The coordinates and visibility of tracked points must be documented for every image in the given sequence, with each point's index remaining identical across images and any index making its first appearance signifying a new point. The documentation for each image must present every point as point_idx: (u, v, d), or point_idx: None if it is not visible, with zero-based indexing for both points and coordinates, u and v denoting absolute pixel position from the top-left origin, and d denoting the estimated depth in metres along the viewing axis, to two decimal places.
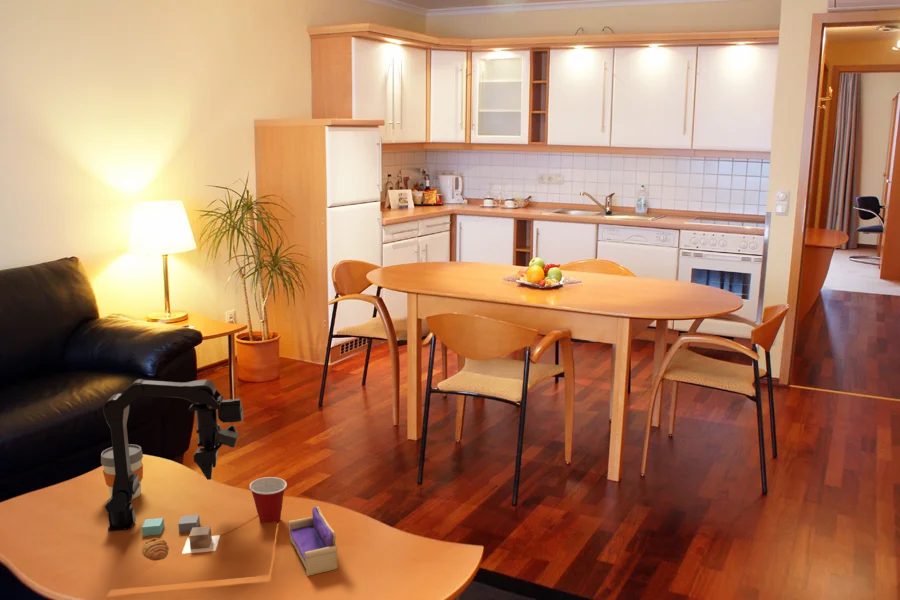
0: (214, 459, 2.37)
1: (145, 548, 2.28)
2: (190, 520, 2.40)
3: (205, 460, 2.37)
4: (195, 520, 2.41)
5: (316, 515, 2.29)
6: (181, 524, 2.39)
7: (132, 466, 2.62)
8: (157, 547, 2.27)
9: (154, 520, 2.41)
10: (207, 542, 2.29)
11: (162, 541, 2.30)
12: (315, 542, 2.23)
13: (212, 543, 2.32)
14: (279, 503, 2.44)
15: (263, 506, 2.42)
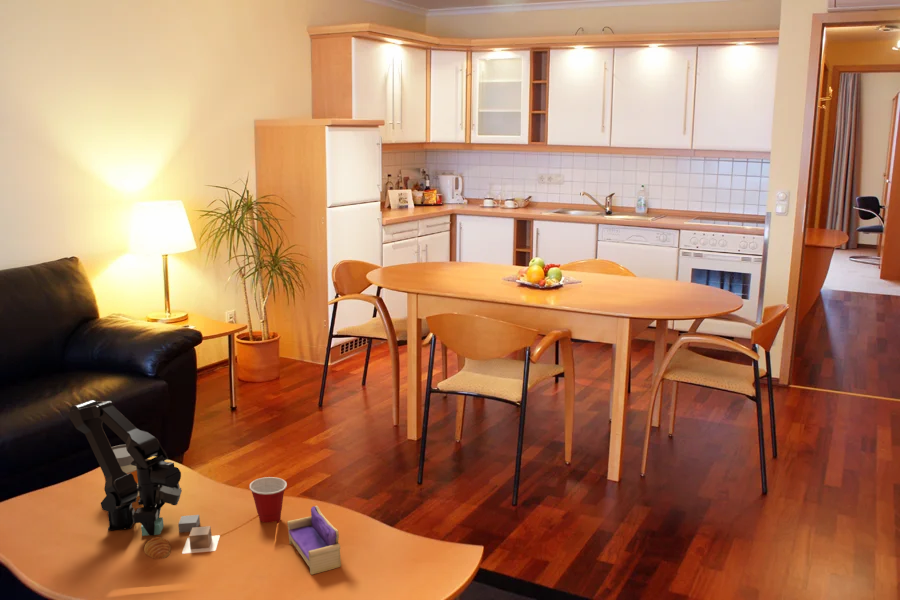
0: (154, 519, 2.31)
1: (147, 547, 2.28)
2: (190, 520, 2.40)
3: (144, 520, 2.30)
4: (195, 520, 2.41)
5: (315, 514, 2.30)
6: (181, 524, 2.39)
7: (132, 466, 2.62)
8: (160, 546, 2.27)
9: None
10: (207, 542, 2.29)
11: (164, 540, 2.31)
12: (316, 541, 2.23)
13: (212, 543, 2.32)
14: (279, 503, 2.44)
15: (263, 506, 2.42)
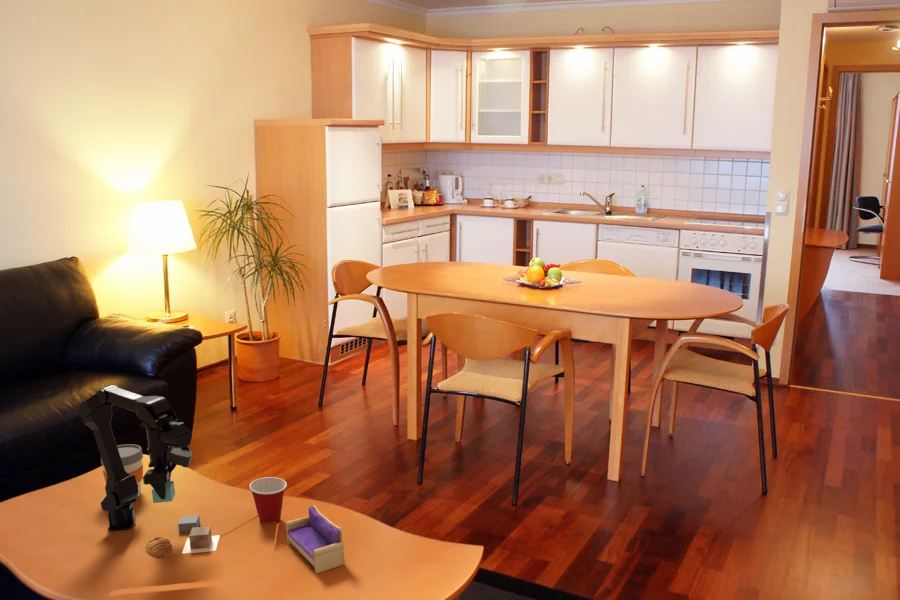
0: (165, 480, 2.25)
1: (149, 547, 2.28)
2: (190, 520, 2.40)
3: (155, 482, 2.25)
4: (195, 520, 2.41)
5: (314, 514, 2.30)
6: (181, 524, 2.39)
7: (132, 466, 2.62)
8: (161, 546, 2.28)
9: None
10: (207, 542, 2.29)
11: (165, 540, 2.31)
12: (318, 540, 2.24)
13: (212, 543, 2.32)
14: (279, 503, 2.44)
15: (263, 506, 2.42)
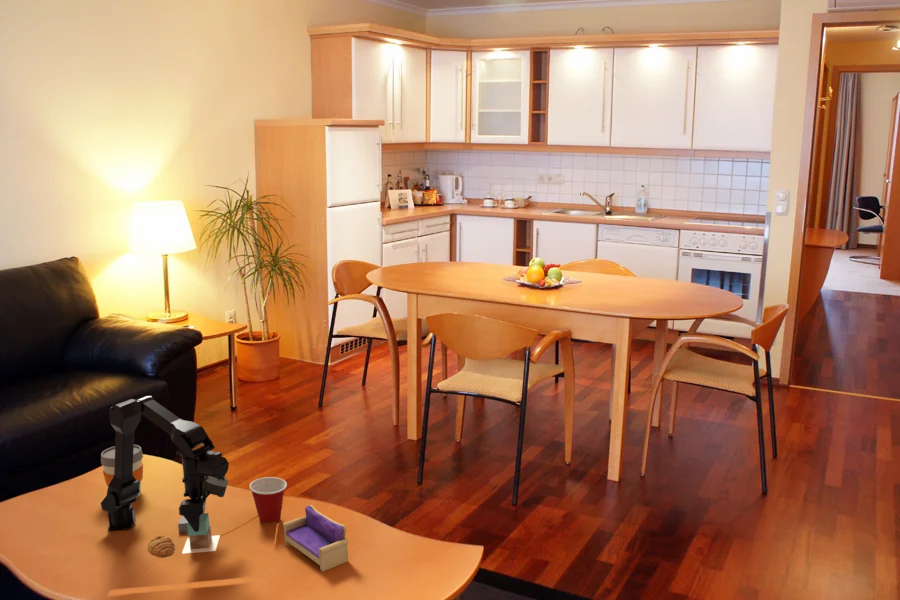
0: (201, 511, 2.20)
1: (151, 546, 2.29)
2: None
3: (191, 513, 2.20)
4: None
5: (313, 513, 2.31)
6: (181, 524, 2.39)
7: None
8: (164, 545, 2.28)
9: None
10: (207, 542, 2.29)
11: (167, 539, 2.32)
12: (320, 539, 2.25)
13: (212, 543, 2.32)
14: (279, 503, 2.44)
15: (263, 506, 2.42)
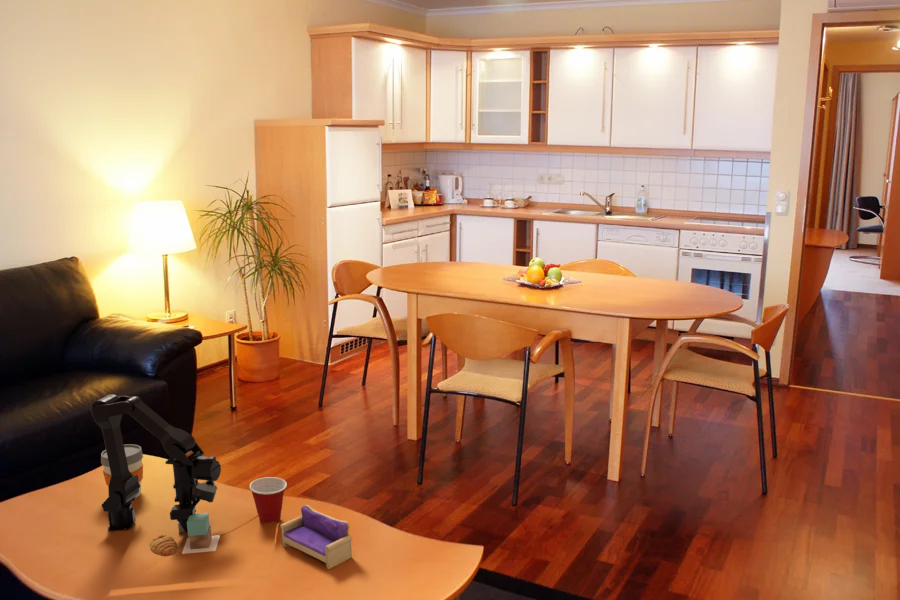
0: None
1: (154, 545, 2.29)
2: None
3: (182, 517, 2.31)
4: None
5: (311, 512, 2.31)
6: None
7: (132, 466, 2.62)
8: (167, 544, 2.29)
9: (199, 515, 2.31)
10: (207, 542, 2.29)
11: (170, 537, 2.32)
12: (322, 537, 2.26)
13: (212, 543, 2.32)
14: (279, 503, 2.44)
15: (263, 506, 2.42)
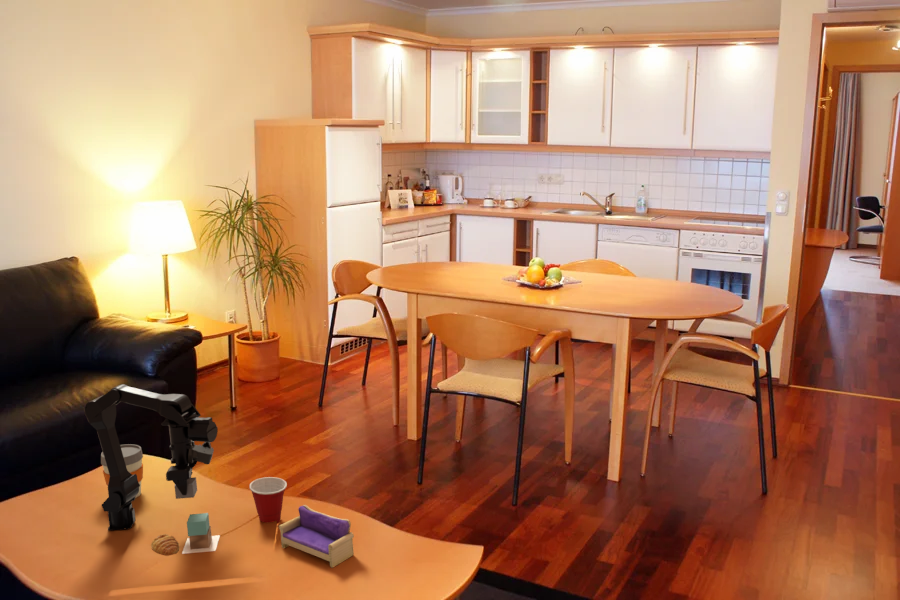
0: (187, 477, 2.29)
1: (155, 544, 2.29)
2: None
3: (178, 478, 2.29)
4: (191, 482, 2.38)
5: (309, 512, 2.31)
6: None
7: (132, 466, 2.62)
8: (168, 543, 2.29)
9: (199, 515, 2.31)
10: (207, 542, 2.29)
11: (171, 537, 2.33)
12: (323, 536, 2.26)
13: (212, 543, 2.32)
14: (279, 503, 2.44)
15: (263, 506, 2.42)
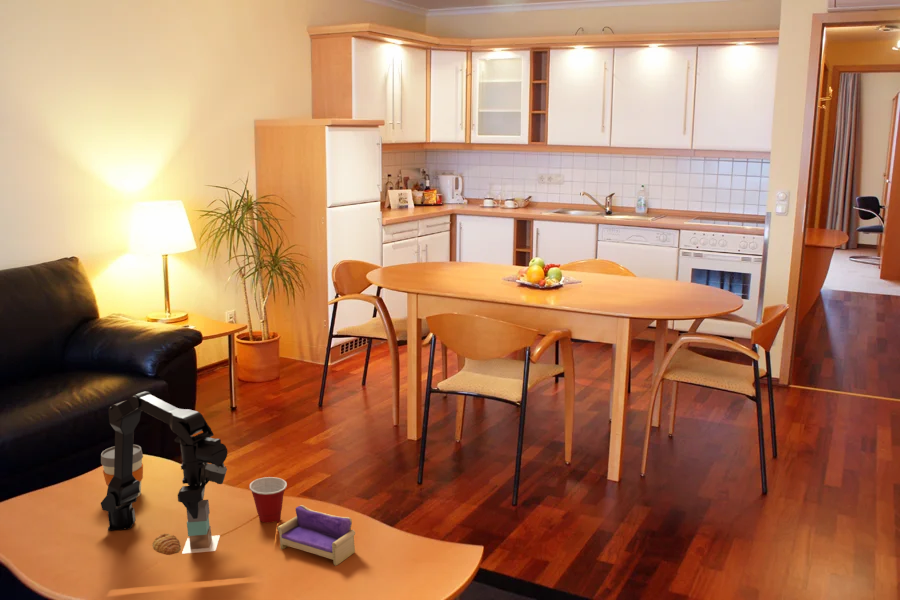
0: (200, 498, 2.20)
1: (157, 544, 2.30)
2: (199, 505, 2.28)
3: (190, 499, 2.19)
4: (204, 504, 2.29)
5: (308, 512, 2.31)
6: None
7: None
8: (170, 542, 2.30)
9: None
10: (207, 542, 2.29)
11: (172, 536, 2.33)
12: (323, 535, 2.27)
13: (212, 543, 2.32)
14: (279, 503, 2.44)
15: (263, 506, 2.42)
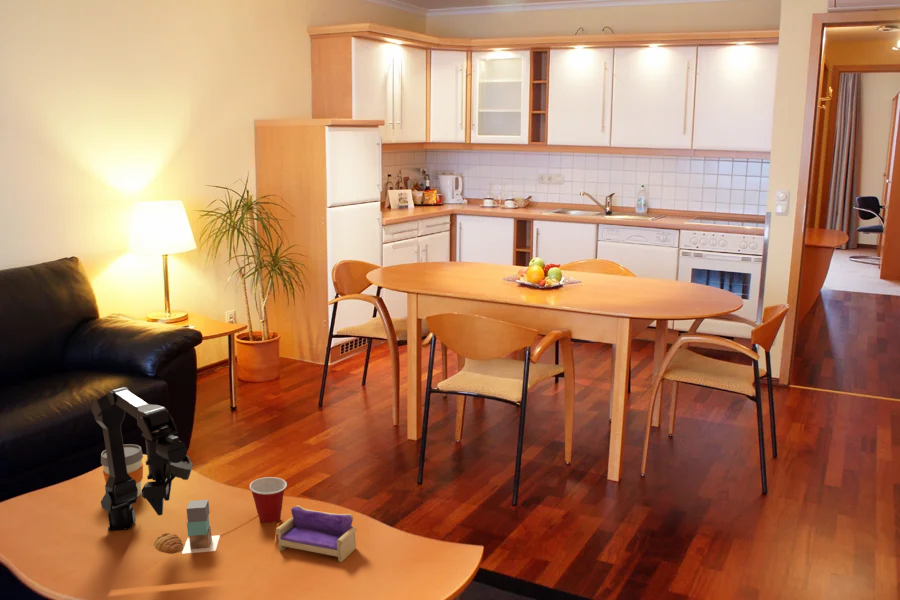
0: (164, 494, 2.18)
1: (159, 543, 2.30)
2: (199, 505, 2.28)
3: (154, 495, 2.18)
4: (204, 504, 2.29)
5: (305, 512, 2.32)
6: (189, 509, 2.27)
7: (132, 466, 2.62)
8: (172, 541, 2.30)
9: None
10: (207, 542, 2.29)
11: (174, 535, 2.34)
12: (324, 533, 2.28)
13: (212, 543, 2.32)
14: (279, 503, 2.44)
15: (263, 506, 2.42)
